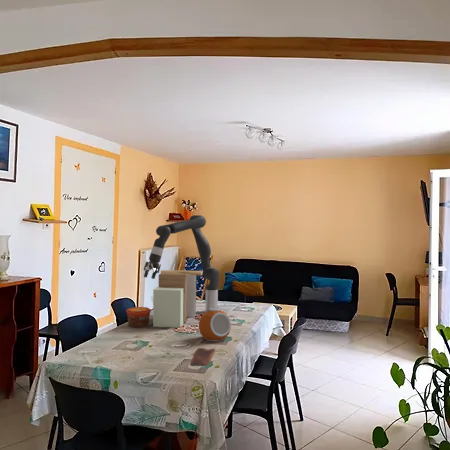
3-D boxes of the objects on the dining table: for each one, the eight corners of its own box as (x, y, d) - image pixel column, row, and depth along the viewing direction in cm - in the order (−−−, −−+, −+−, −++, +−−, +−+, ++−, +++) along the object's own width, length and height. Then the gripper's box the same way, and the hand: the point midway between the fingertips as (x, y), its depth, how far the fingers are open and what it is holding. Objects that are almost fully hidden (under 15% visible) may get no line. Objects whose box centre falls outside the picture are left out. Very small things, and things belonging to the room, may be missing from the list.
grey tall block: (195, 315, 309) (196, 274, 309) (194, 317, 303) (194, 275, 303) (176, 314, 310) (176, 273, 310) (174, 316, 305) (175, 274, 304)
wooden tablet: (208, 364, 203) (187, 361, 204) (207, 369, 203) (187, 365, 204) (216, 348, 229) (198, 345, 230) (215, 352, 229) (197, 349, 230)
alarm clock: (208, 344, 239) (208, 313, 239) (193, 336, 254) (193, 307, 253) (236, 339, 249) (236, 309, 249) (220, 332, 264) (221, 304, 264)
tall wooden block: (159, 318, 298) (160, 273, 297) (188, 319, 296) (188, 273, 295) (156, 322, 289) (156, 274, 288) (185, 323, 287) (185, 275, 286)
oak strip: (162, 273, 294) (162, 270, 294) (202, 274, 292) (202, 271, 292) (160, 274, 290) (160, 270, 290) (201, 275, 288) (201, 271, 288)
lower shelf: (156, 323, 286) (157, 287, 285) (183, 324, 284) (183, 288, 283) (153, 326, 277) (153, 289, 276) (180, 327, 275) (180, 290, 274)
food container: (120, 326, 276) (120, 310, 276) (136, 321, 290) (136, 305, 290) (140, 329, 268) (140, 312, 268) (155, 324, 282) (155, 308, 282)
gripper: (166, 256, 281) (159, 280, 278) (154, 255, 291) (147, 278, 288) (158, 253, 276) (150, 277, 273) (145, 251, 286) (138, 275, 283)
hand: (148, 277), depth 280 cm, fingers open, 8 cm apart
